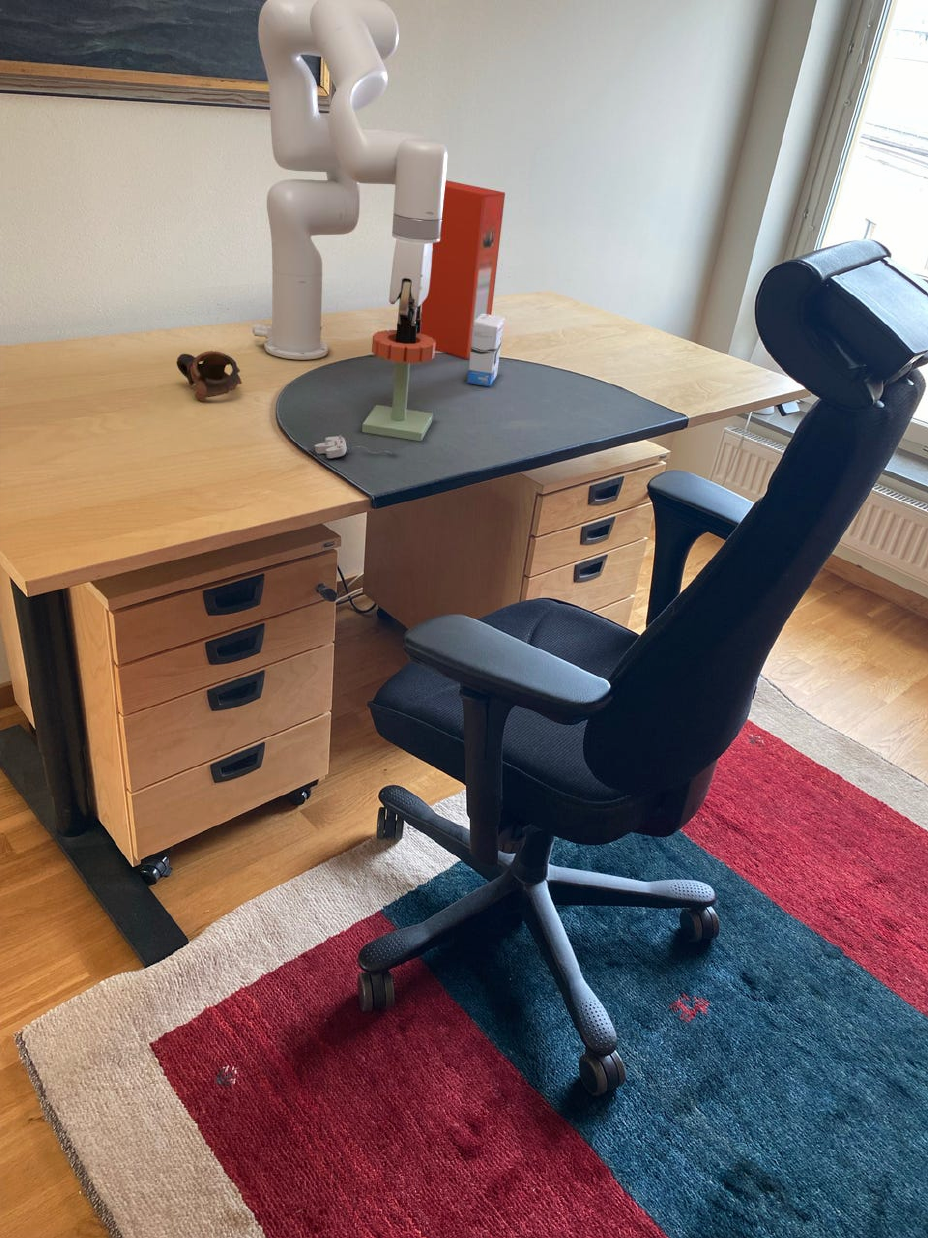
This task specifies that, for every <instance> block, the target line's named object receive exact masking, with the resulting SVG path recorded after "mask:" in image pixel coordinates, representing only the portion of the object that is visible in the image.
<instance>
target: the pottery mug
mask: <svg viewBox="0 0 928 1238" xmlns="http://www.w3.org/2000/svg"><path fill="white" fill-rule="evenodd" d="M229 365H230V366H231V372H230V374H229V373H227V372H226V367H227V366H229ZM176 368H177V369H178V370H179V372H180V373H181V375H183V376H184V377H185V378H186V379H187V381H188V384H189V386H193V385H195V386H196V389H195V392H194V396H195V398H196V399H197V400H199V401H201V402H205V400H206V399H207V398H214V397H217V396H222V395H227V394H229V393H230V391H233V390H235V388H236V387H237V386H238V385H242V384H243V382H242V379H241V377H240V375H239V373H240V372H241V370H240V368H239V367H238V366H237V362H236V361H235V359H233V358H232V357H231V356H230V355H228V354H226V353H223V352H221V351H214V350H208V351H204V352H202V353H200V354H197V356H193V355H192V354H189V353H181V354H180V355H179V356H178V357H176Z"/></svg>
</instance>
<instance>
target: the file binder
mask: <svg viewBox="0 0 928 1238" xmlns="http://www.w3.org/2000/svg"><path fill="white" fill-rule="evenodd" d="M505 197H506V192H504V191H500V190H495V189H490V188H486V187H485V188H484V187H481V186H475V185H472V184H466V183H462V182H456V181H452V180H447V179H445V189H444V200H443V210H442V222H441V233H440V241H439V242H436V243H433V251H432V265H431V276H430V285H429V292H428V296H427V297H426V299H425V300H424V301H423V303H422V312H421V319H417V320H421V330H420V333H421V334H424V335H427V336H429V337H431V338H433V339H434V340H435V342H436V343H435V351H439V352H442V353H444V354H448V355H451V356H455V357H458V358H461V359H464V360H469V359H470V351H471V342H472V333H473V324H474V321H475V320H476V319H477V317H479V315H481V314H488V315H492V313H493V306H494V305H493V303H494V295H495V288H496V287H495V286H496V277H497V269H498V259H499V249H500V244H501V243H500V241H501V234H502V224H503V214H504V206H505Z"/></svg>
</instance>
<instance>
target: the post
mask: <svg viewBox="0 0 928 1238" xmlns="http://www.w3.org/2000/svg"><path fill="white" fill-rule="evenodd" d="M410 367H411V363H406V362H405V361H404V362H403V363H400V362H394V371H393V372H394V373H393V390H392V403H391V406H386V405H381V404H380V405H379V404H376V405H375V406H374V407H373V409H372V410H371V412H370V413H369V414H368V416H367V417H366V419H365V420H364V421H363V423H362V425H361V426H362V427H361V428H362V429H361V432H362V433H366V434H370V435H378V436H384V437H390V438H397V439H402V440H410V441H416V442H422V441H423V439H424V437H425V435H426V433H427V431H428V430H429V428H430V427H431V424H432V422H433V413H432V412H424V411H418V410H411V409H407V405H408V404H407V403H408V393H409V382H410V379H409V378H410Z"/></svg>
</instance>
